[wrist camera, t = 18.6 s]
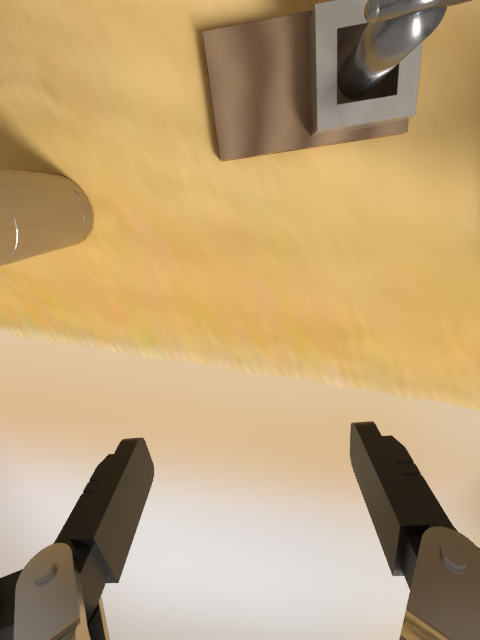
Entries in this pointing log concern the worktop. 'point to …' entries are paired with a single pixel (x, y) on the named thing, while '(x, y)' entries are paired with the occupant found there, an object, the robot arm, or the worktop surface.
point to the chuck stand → (301, 84)
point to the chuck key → (388, 40)
